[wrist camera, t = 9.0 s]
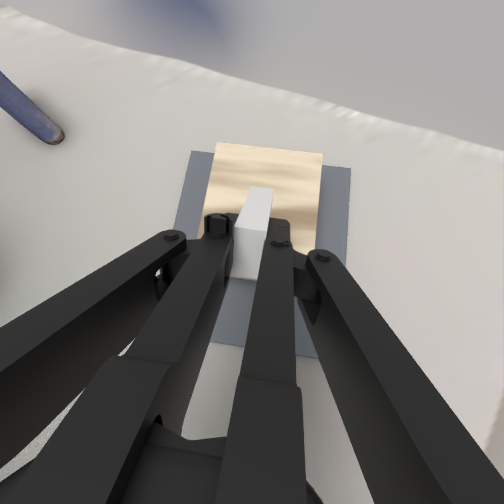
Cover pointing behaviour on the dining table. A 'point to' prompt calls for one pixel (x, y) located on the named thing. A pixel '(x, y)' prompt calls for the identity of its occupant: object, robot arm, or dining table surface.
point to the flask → (27, 112)
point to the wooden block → (267, 176)
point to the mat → (242, 290)
